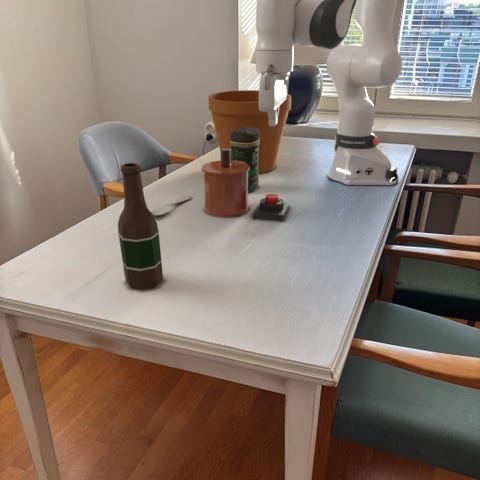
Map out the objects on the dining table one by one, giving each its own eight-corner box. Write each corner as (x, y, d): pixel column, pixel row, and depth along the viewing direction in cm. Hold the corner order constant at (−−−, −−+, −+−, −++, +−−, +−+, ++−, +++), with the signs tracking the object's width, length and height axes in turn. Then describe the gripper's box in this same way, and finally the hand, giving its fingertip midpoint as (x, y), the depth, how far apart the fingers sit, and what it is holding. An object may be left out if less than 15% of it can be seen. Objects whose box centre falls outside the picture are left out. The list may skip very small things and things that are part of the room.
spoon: (144, 218, 131) (143, 212, 130) (182, 196, 147) (182, 191, 146) (156, 220, 130) (156, 215, 129) (194, 198, 146) (194, 192, 145)
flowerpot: (202, 175, 166) (199, 101, 153) (219, 155, 189) (218, 89, 177) (283, 179, 162) (287, 103, 149) (291, 158, 185) (294, 91, 172)
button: (266, 199, 135) (266, 193, 134) (279, 200, 134) (279, 194, 133) (264, 204, 132) (264, 197, 131) (277, 204, 131) (277, 198, 130)
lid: (253, 166, 135) (254, 145, 132) (243, 179, 125) (244, 156, 122) (209, 163, 138) (208, 142, 135) (195, 176, 127) (194, 154, 124)
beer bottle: (127, 274, 103) (111, 159, 91) (164, 272, 104) (153, 158, 91) (123, 291, 97) (105, 171, 84) (162, 290, 97) (150, 170, 85)
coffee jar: (249, 194, 148) (250, 131, 138) (226, 191, 151) (225, 128, 141) (262, 186, 156) (263, 125, 146) (240, 183, 159) (240, 123, 149)
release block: (261, 205, 140) (261, 193, 138) (288, 207, 138) (289, 195, 137) (253, 218, 131) (253, 206, 129) (282, 221, 129) (283, 208, 128)
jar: (251, 204, 141) (251, 164, 135) (242, 218, 131) (242, 176, 125) (211, 201, 143) (210, 162, 137) (200, 215, 133) (198, 173, 127)
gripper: (280, 67, 106) (278, 134, 113) (293, 60, 123) (291, 118, 130) (252, 67, 107) (252, 133, 114) (269, 60, 124) (268, 117, 131)
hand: (273, 125), depth 122 cm, fingers closed
